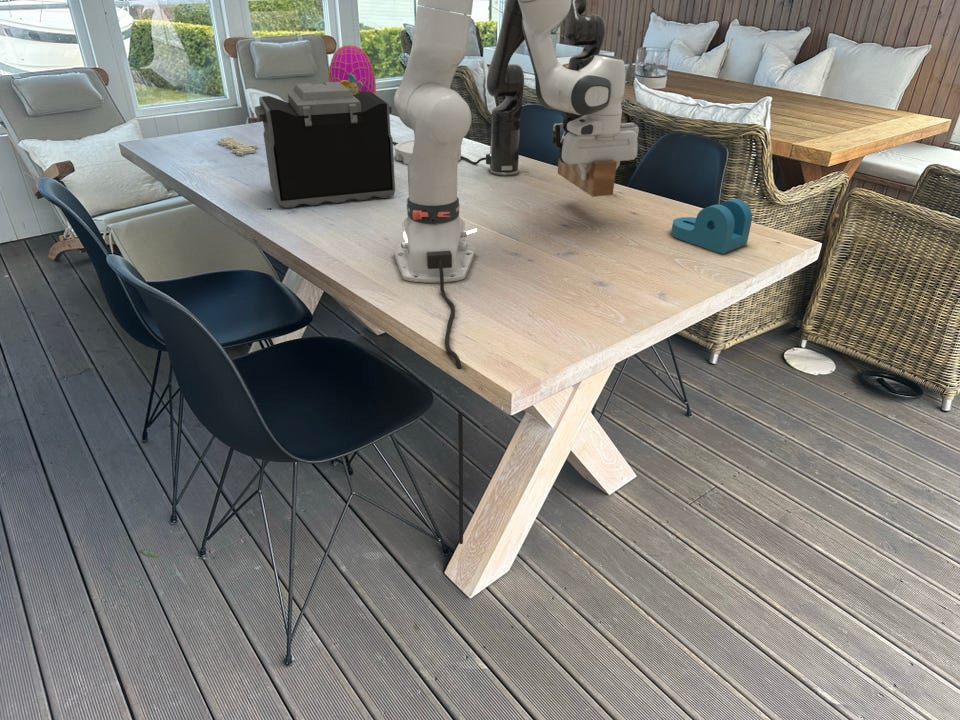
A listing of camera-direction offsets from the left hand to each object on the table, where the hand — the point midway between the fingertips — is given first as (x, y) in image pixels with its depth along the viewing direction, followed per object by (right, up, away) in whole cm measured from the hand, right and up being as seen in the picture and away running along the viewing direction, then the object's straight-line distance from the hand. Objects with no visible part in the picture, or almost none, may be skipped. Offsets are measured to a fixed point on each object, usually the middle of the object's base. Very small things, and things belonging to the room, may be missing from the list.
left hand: (597, 178), depth 180 cm
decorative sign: (-120, +31, +74) cm, 145 cm away
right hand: (-4, +8, +11) cm, 15 cm away
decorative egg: (-84, +54, +113) cm, 151 cm away
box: (-2, +1, +8) cm, 8 cm away
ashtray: (-49, +24, +64) cm, 84 cm away
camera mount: (+27, -17, -4) cm, 32 cm away
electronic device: (-75, +2, +26) cm, 80 cm away
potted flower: (-77, +35, +82) cm, 118 cm away
